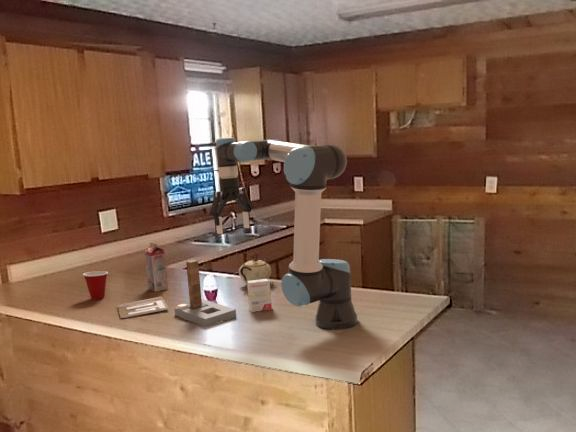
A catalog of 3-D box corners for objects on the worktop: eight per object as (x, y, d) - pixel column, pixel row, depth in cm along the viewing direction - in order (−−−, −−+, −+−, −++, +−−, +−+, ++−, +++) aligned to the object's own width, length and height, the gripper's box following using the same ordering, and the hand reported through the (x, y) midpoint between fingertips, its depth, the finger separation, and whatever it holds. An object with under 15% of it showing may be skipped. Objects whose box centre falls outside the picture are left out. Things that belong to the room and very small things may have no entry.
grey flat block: (236, 317, 220) (235, 306, 219) (206, 326, 211) (205, 316, 210) (204, 306, 236) (203, 296, 235) (175, 315, 227) (174, 305, 226)
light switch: (162, 300, 249) (118, 309, 243) (161, 296, 249) (117, 304, 243) (168, 311, 233) (121, 321, 227) (168, 307, 233) (120, 316, 226)
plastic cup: (115, 296, 261) (112, 270, 259) (96, 302, 252) (92, 276, 250) (100, 293, 267) (97, 268, 265) (80, 299, 258) (77, 274, 256)
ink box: (269, 306, 231) (267, 277, 229) (272, 309, 226) (270, 280, 224) (248, 308, 229) (246, 280, 227) (250, 312, 224) (248, 283, 223)
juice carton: (155, 291, 264) (150, 245, 261) (148, 289, 269) (143, 243, 266) (167, 288, 268) (163, 242, 265) (160, 286, 273) (156, 241, 270)
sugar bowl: (257, 278, 276) (254, 248, 274) (281, 281, 268) (279, 250, 265) (229, 288, 261) (227, 256, 259) (255, 292, 252) (252, 259, 250)
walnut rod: (201, 304, 227) (198, 260, 224) (194, 307, 225) (190, 262, 222) (197, 303, 230) (193, 259, 227) (190, 305, 228) (186, 261, 225)
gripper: (246, 174, 234) (251, 225, 237) (196, 180, 217) (202, 235, 220) (258, 174, 229) (263, 226, 232) (208, 180, 212) (214, 236, 215)
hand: (233, 230), depth 226 cm, fingers open, 13 cm apart
